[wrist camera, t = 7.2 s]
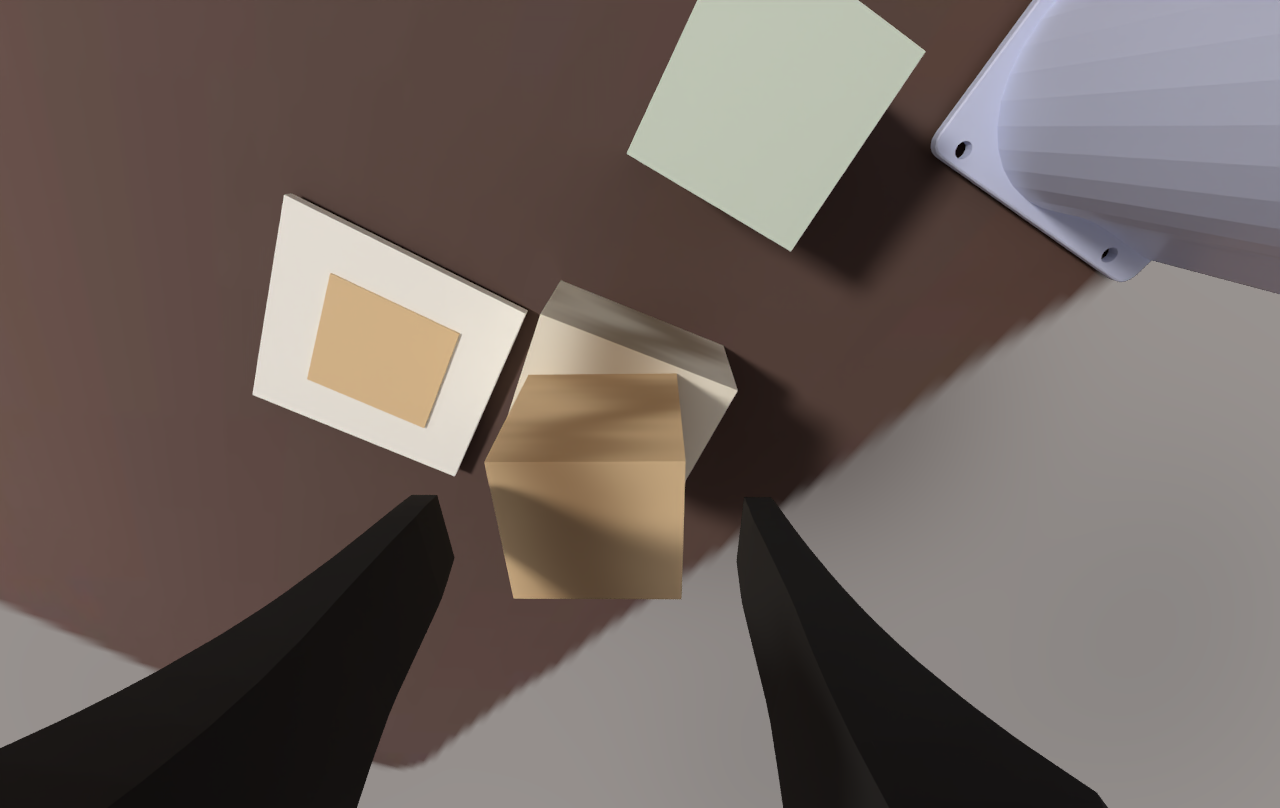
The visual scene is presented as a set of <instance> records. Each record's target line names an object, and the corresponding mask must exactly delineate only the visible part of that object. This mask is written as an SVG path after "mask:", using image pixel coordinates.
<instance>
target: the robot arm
mask: <svg viewBox="0 0 1280 808" xmlns="http://www.w3.org/2000/svg"><path fill="white" fill-rule="evenodd" d="M961 142H964V143H965V151H964V153H963V155H961V156H960V157H959V158H957V157H956V156H955V150H956V148H957V146H958V145H959V144H960V143H961ZM931 151H932V153H933V155H934V156H935V157H936V158H938V159H939V160H941V161H942V162H944V163H945V164H946V165H948V166H949V167H951V168H952V169H954V170H955V171H956V172H958V173H959V174H961V175H962V176H964V177H965V178H966V179H968V180H969V181H971V182H972V183H973V184H975V185H976V186H978V187H979V188H981V189H982V190H983V191H985V192H986V193H988V194H989V195H991V196H992V197H993V198H995V199H996V200H998V201H999V202H1001V203H1002V204H1003V205H1005V206H1006V207H1008V208H1009V209H1011V210H1012V211H1013V212H1015V213H1016V214H1018V215H1019V216H1020V217H1022V218H1023V219H1025V220H1026V221H1028V222H1029V223H1030V224H1032V225H1033V226H1035V227H1036V228H1038V229H1039V230H1040V231H1042V232H1043V233H1045V234H1046V235H1048V236H1049V237H1050V238H1052V239H1053V240H1055V241H1056V242H1057V243H1059V244H1060V245H1062V246H1063V247H1065V248H1066V249H1067V250H1069V251H1070V252H1072V253H1073V254H1075V255H1076V256H1077V257H1079V258H1080V259H1082V260H1083V261H1085V262H1086V263H1087V264H1089V265H1090V266H1092V267H1093V268H1095V269H1096V270H1097V271H1099V272H1100V273H1102V274H1103V275H1104V276H1106V277H1107V278H1109V279H1112V280H1115V281H1119V282H1124V281H1127V280H1130V279H1131V278H1133V277H1134V276H1136V275H1137V274H1138V273H1139V272H1140V271H1141V270H1142V269H1143V268H1144V267H1145V266H1146V265H1147V264H1148V263H1149V262H1150V261H1152V260H1153V261H1156V262H1161V263H1164V264H1168V265H1172V266H1175V267H1179V268H1183V269H1187V270H1190V271H1194V272H1198V273H1202V274H1206V275H1209V276H1213V277H1217V278H1221V279H1225V280H1228V281H1232V282H1236V283H1239V284H1243V285H1247V286H1251V287H1255V288H1258V289H1262V290H1266V291H1270V292H1273V293H1277V294H1280V0H1032V2H1031V3H1030V4H1029V6H1028V7H1027V9H1026V10H1025V11H1024V13H1023V14H1022V15H1021V17H1020V18H1019V19H1018V21H1017V22H1016V24H1015V25H1014V26H1013V28H1012V29H1011V30H1010V32H1009V33H1008V35H1007V36H1006V37H1005V39H1004V40H1003V41H1002V43H1001V44H1000V45H999V47H998V48H997V50H996V51H995V52H994V54H993V55H992V56H991V58H990V59H989V60H988V62H987V63H986V65H985V66H984V67H983V69H982V70H981V71H980V73H979V74H978V76H977V77H976V78H975V80H974V81H973V82H972V84H971V85H970V86H969V88H968V89H967V91H966V92H965V93H964V95H963V96H962V97H961V99H960V100H959V101H958V103H957V104H956V106H955V107H954V108H953V110H952V111H951V112H950V114H949V115H948V116H947V118H946V119H945V121H944V122H943V123H942V125H941V126H940V127H939V129H938V130H937V132H936V133H935V135H934V136H933V138H932V141H931ZM1108 248H1109V252H1108V254H1107V255H1106V256H1105V257H1104V258H1102V254H1103V253H1104V251H1106V250H1107V249H1108ZM1101 258H1102V259H1101ZM453 561H454V554H453V551H452V547H451V544H450V540H449V536H448V533H447V529H446V526H445V522H444V518H443V515H442V511H441V508H440V504H439V500H438V497H437V495H411V496H410V497H408V498H407V499H406V500H404V501H403V502H402V503H400V504H399V505H398V506H397V507H395V508H394V509H393V510H392V511H390V512H389V513H388V514H387V515H385V516H384V517H383V518H382V519H380V520H379V521H378V522H377V523H375V524H374V525H373V526H372V527H370V528H369V529H368V530H367V531H366V532H364V533H363V534H362V535H360V536H359V537H358V538H357V539H355V540H354V541H353V542H352V543H350V544H349V545H348V546H347V547H345V548H344V549H343V550H342V551H340V552H339V553H338V554H337V555H335V556H334V557H333V558H331V559H330V560H329V561H327V562H326V563H325V564H323V565H322V566H321V567H319V568H318V569H317V570H315V571H314V572H312V573H311V574H310V575H308V576H307V577H306V578H304V579H303V580H302V581H300V582H299V583H298V584H296V585H295V586H293V587H292V588H291V589H289V590H288V591H287V592H285V593H284V594H282V595H281V596H279V597H278V598H277V599H275V600H274V601H272V602H271V603H269V604H268V605H266V606H265V607H263V608H262V609H260V610H259V611H257V612H256V613H254V614H253V615H251V616H249V617H248V618H246V619H245V620H243V621H242V622H240V623H239V624H237V625H235V626H234V627H232V628H231V629H229V630H227V631H226V632H224V633H223V634H221V635H219V636H218V637H216V638H214V639H213V640H211V641H209V642H207V643H206V644H204V645H202V646H200V647H199V648H197V649H195V650H193V651H192V652H190V653H188V654H186V655H185V656H183V657H181V658H180V659H178V660H176V661H174V662H173V663H171V664H169V665H167V666H166V667H164V668H162V669H160V670H159V671H157V672H155V673H153V674H151V675H149V676H148V677H146V678H144V679H142V680H140V681H138V682H136V683H134V684H132V685H130V686H129V687H127V688H125V689H123V690H121V691H119V692H117V693H115V694H114V695H111V696H109V697H107V698H105V699H103V700H101V701H99V702H97V703H95V704H93V705H91V706H89V707H87V708H85V709H83V710H81V711H80V712H77V713H75V714H74V715H71V716H69V717H67V718H65V719H63V720H61V721H59V722H57V723H54V724H52V725H50V726H48V727H46V728H44V729H41V730H39V731H37V732H35V733H33V734H30V735H29V736H26V737H24V738H22V739H20V740H17V741H15V742H13V743H11V744H9V745H6V746H4V747H2V748H0V808H357V806H358V803H359V799H360V796H361V794H362V790H363V788H364V784H365V781H366V778H367V775H368V772H369V769H370V766H371V763H372V761H373V758H374V755H375V752H376V749H377V747H378V744H379V741H380V738H381V735H382V733H383V730H384V727H385V724H386V721H387V719H388V716H389V713H390V711H391V709H392V706H393V704H394V702H395V699H396V697H397V694H398V692H399V690H400V688H401V686H402V684H403V681H404V679H405V677H406V675H407V673H408V671H409V669H410V666H411V664H412V662H413V660H414V658H415V656H416V654H417V651H418V649H419V647H420V645H421V643H422V641H423V638H424V636H425V634H426V632H427V630H428V628H429V625H430V623H431V621H432V619H433V617H434V614H435V612H436V610H437V608H438V606H439V603H440V601H441V599H442V596H443V593H444V590H445V587H446V584H447V581H448V577H449V574H450V571H451V567H452V564H453ZM737 568H738V576H739V583H740V592H741V598H742V605H743V609H744V613H745V617H746V622H747V626H748V630H749V634H750V638H751V642H752V646H753V650H754V654H755V658H756V662H757V666H758V670H759V675H760V678H761V683H762V687H763V691H764V695H765V699H766V703H767V708H768V713H769V718H770V723H771V729H772V736H773V742H774V749H775V755H776V761H777V768H778V774H779V781H780V788H781V796H782V802H783V808H1108V807H1107V806H1106V804H1105V803H1104V802H1103V801H1102V799H1101V798H1100V796H1099V795H1098V794H1097V793H1096V792H1095V791H1094V790H1092V789H1090V788H1089V787H1088V786H1086V785H1085V784H1083V783H1082V782H1080V781H1079V780H1077V779H1076V778H1074V777H1073V776H1071V775H1069V774H1068V773H1067V772H1065V771H1064V770H1062V769H1061V768H1059V767H1058V766H1056V765H1055V764H1053V763H1052V762H1050V761H1049V760H1047V759H1046V758H1044V757H1043V756H1042V755H1040V754H1039V753H1037V752H1036V751H1034V750H1033V749H1031V748H1030V747H1028V746H1027V745H1025V744H1024V743H1022V742H1021V741H1019V740H1018V739H1017V738H1015V737H1014V736H1012V735H1011V734H1010V733H1008V732H1007V731H1006V730H1004V729H1003V728H1002V727H1000V726H999V725H998V724H996V723H995V722H994V721H992V720H991V719H990V718H988V717H987V716H986V715H984V714H983V713H981V712H980V711H979V710H977V709H976V708H975V707H973V706H972V705H971V704H970V703H968V702H967V701H966V700H965V699H963V698H962V697H961V696H959V695H958V694H957V693H956V692H955V691H953V690H952V689H951V688H950V687H948V686H947V685H946V684H945V683H944V682H942V681H941V680H940V679H939V678H937V677H936V676H935V675H934V674H933V673H931V672H930V671H929V670H928V669H926V668H925V667H924V666H923V665H922V664H921V663H919V662H918V661H917V660H916V659H915V658H913V657H912V656H911V655H910V654H909V653H908V652H907V651H906V650H905V649H904V648H902V647H901V646H900V645H899V644H898V643H897V642H896V641H895V640H894V639H893V638H892V637H890V635H888V634H887V633H886V632H885V631H884V630H883V629H882V628H881V627H880V626H879V625H878V624H877V623H876V622H875V621H874V620H873V619H872V618H871V617H870V616H869V615H868V614H867V613H866V612H865V611H864V610H863V609H862V608H861V607H860V606H859V605H858V604H857V603H856V602H855V600H854V599H853V598H852V597H851V596H850V595H849V594H848V593H847V592H846V591H845V590H844V588H842V586H841V585H840V584H839V583H838V582H837V581H836V580H835V578H834V577H833V576H832V575H831V574H830V573H829V571H828V570H827V569H826V568H825V567H824V565H823V564H822V563H821V562H820V561H819V560H818V558H817V557H816V556H815V554H814V553H813V552H812V551H811V550H810V549H809V547H808V546H807V545H806V543H805V542H804V541H803V540H802V538H801V537H800V535H799V534H798V533H797V532H796V530H795V529H794V528H793V526H792V525H791V524H790V522H789V521H788V519H787V518H786V517H785V515H784V514H783V513H782V511H781V510H780V508H779V507H778V505H777V504H776V503H775V501H774V500H773V499H772V498H771V497H744V503H743V511H742V519H741V528H740V536H739V545H738V553H737Z"/></svg>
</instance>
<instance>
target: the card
mask: <svg viewBox="0 0 1280 808" xmlns="http://www.w3.org/2000/svg"><path fill="white" fill-rule="evenodd" d="M527 312H528V310H526V309H524V308H522V307H520V306H518V305H516V304H514V303H512V302H510V301H508V300H506V299H504V298H502V297H500V296H498V295H496V294H494V293H492V292H490V291H488V290H486V289H484V288H482V287H480V286H478V285H476V284H474V283H471V282H469V281H467V280H465V279H463V278H461V277H459V276H457V275H455V274H453V273H451V272H449V271H447V270H445V269H443V268H441V267H439V266H437V265H435V264H433V263H431V262H429V261H427V260H425V259H423V258H421V257H419V256H417V255H415V254H413V253H411V252H409V251H407V250H405V249H403V248H401V247H399V246H397V245H395V244H393V243H391V242H389V241H387V240H385V239H383V238H381V237H379V236H377V235H375V234H373V233H371V232H369V231H367V230H365V229H363V228H361V227H359V226H356V225H354V224H352V223H350V222H348V221H346V220H344V219H342V218H340V217H338V216H336V215H334V214H332V213H330V212H328V211H326V210H324V209H322V208H320V207H318V206H316V205H314V204H312V203H310V202H308V201H306V200H304V199H302V198H300V197H298V196H296V195H294V194H292V193H290V194H285V195H284V199H283V205H282V211H281V218H280V224H279V230H278V236H277V243H276V249H275V255H274V262H273V268H272V274H271V281H270V287H269V293H268V300H267V306H266V312H265V319H264V325H263V331H262V338H261V344H260V350H259V357H258V363H257V369H256V376H255V382H254V388H253V395H254V396H257V397H259V398H262V399H264V400H267V401H269V402H272V403H274V404H277V405H279V406H282V407H284V408H287V409H289V410H292V411H294V412H297V413H299V414H302V415H304V416H306V417H309V418H311V419H314V420H316V421H319V422H321V423H324V424H326V425H329V426H331V427H334V428H336V429H339V430H341V431H344V432H346V433H349V434H351V435H354V436H356V437H358V438H361V439H363V440H366V441H368V442H371V443H373V444H376V445H378V446H381V447H383V448H386V449H388V450H391V451H393V452H396V453H398V454H401V455H403V456H406V457H408V458H410V459H413V460H415V461H418V462H420V463H423V464H425V465H428V466H430V467H433V468H435V469H438V470H440V471H443V472H445V473H448V474H450V475H453V476H455V475H456V473H457V472H458V469H459V467H460V465H461V463H462V460H463V458H464V456H465V453H466V451H467V449H468V447H469V444H470V442H471V440H472V437H473V435H474V433H475V431H476V428H477V426H478V424H479V421H480V419H481V417H482V415H483V412H484V410H485V408H486V405H487V403H488V401H489V399H490V396H491V394H492V392H493V389H494V387H495V385H496V382H497V380H498V378H499V376H500V373H501V371H502V369H503V366H504V364H505V362H506V360H507V357H508V355H509V353H510V350H511V348H512V346H513V344H514V341H515V339H516V337H517V334H518V332H519V330H520V328H521V325H522V323H523V321H524V318H525V316H526V314H527Z"/></svg>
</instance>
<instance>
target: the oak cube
mask: <svg viewBox="0 0 1280 808" xmlns="http://www.w3.org/2000/svg"><path fill="white" fill-rule="evenodd" d="M484 463H485V467H486V472H487V477H488V481H489V486H490V491H491V495H492V500H493V505H494V509H495V514H496V518H497V523H498V528H499V532H500V537H501V542H502V546H503V551H504V556H505V560H506V565H507V570H508V574H509V579H510V584H511V588H512V593H513V597H514V598H525V599H681V594H682V562H683V530H684V497H685V464H686V460H685V451H684V441H683V431H682V421H681V411H680V401H679V391H678V381H677V373H671V374H554V375H528V377H527V379H526V381H525V383H524V385H523V387H522V389H521V391H520V393H519V395H518V396H517V398H516V400H515V402H514V404H513V406H512V408H511V410H510V412H509V414H508V416H507V418H506V420H505V422H504V424H503V426H502V428H501V430H500V432H499V434H498V436H497V438H496V440H495V442H494V444H493V446H492V448H491V450H490V452H489V454H488V456H487V458H486V460H485V462H484Z"/></svg>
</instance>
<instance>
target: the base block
mask: <svg viewBox="0 0 1280 808" xmlns="http://www.w3.org/2000/svg"><path fill="white" fill-rule="evenodd" d="M671 373H677V381H678V391H679V401H680V411H681V421H682V431H683V441H684V451H685V460H686V464H685V481H686V479H687V478H688V476H689V474H690V472H691V471H692V469H693V467H694V465H695V464H696V462H697V460H698V459H699V457H700V455H701V453H702V452H703V450H704V448H705V446H706V445H707V443H708V441H709V439H710V438H711V436H712V434H713V433H714V431H715V429H716V427H717V426H718V424H719V422H720V420H721V419H722V417H723V415H724V414H725V412H726V410H727V408H728V407H729V405H730V403H731V401H732V400H733V398H734V396H735V395H736V393H737V391H738V390H737V386H736V383H735V380H734V377H733V374H732V371H731V368H730V365H729V362H728V359H727V356H726V352H725V349H724V346H723V345H720V344H718V343H715V342H713V341H710V340H708V339H705V338H703V337H700V336H698V335H695V334H693V333H690V332H688V331H686V330H683V329H681V328H678V327H676V326H673V325H671V324H668V323H666V322H663V321H661V320H658V319H656V318H653V317H651V316H648V315H646V314H643V313H641V312H638V311H636V310H633V309H631V308H628V307H626V306H623V305H621V304H618V303H616V302H613V301H611V300H608V299H606V298H603V297H601V296H598V295H596V294H593V293H591V292H588V291H586V290H583V289H581V288H579V287H576V286H574V285H571V284H569V283H566V282H564V281H560V283H559V284H558V286H557V287H556V289H555V291H554V292H553V294H552V296H551V297H550V299H549V301H548V302H547V304H546V306H545V307H544V309H543V311H542V312H541V314H540V317H539V320H538V323H537V326H536V329H535V333H534V336H533V339H532V342H531V345H530V348H529V351H528V354H527V357H526V361H525V364H524V367H523V370H522V373H521V376H520V379H519V382H518V385H517V389H516V392H515V395H514V398H513V401H512V404H511V407H510V410H511V408H512V406H513V404H514V402H515V400H516V398H517V396H518V395H519V393H520V391H521V389H522V387H523V385H524V383H525V381H526V379H527V377H528V375H554V374H671ZM510 410H509V412H510ZM508 414H509V413H508Z"/></svg>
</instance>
